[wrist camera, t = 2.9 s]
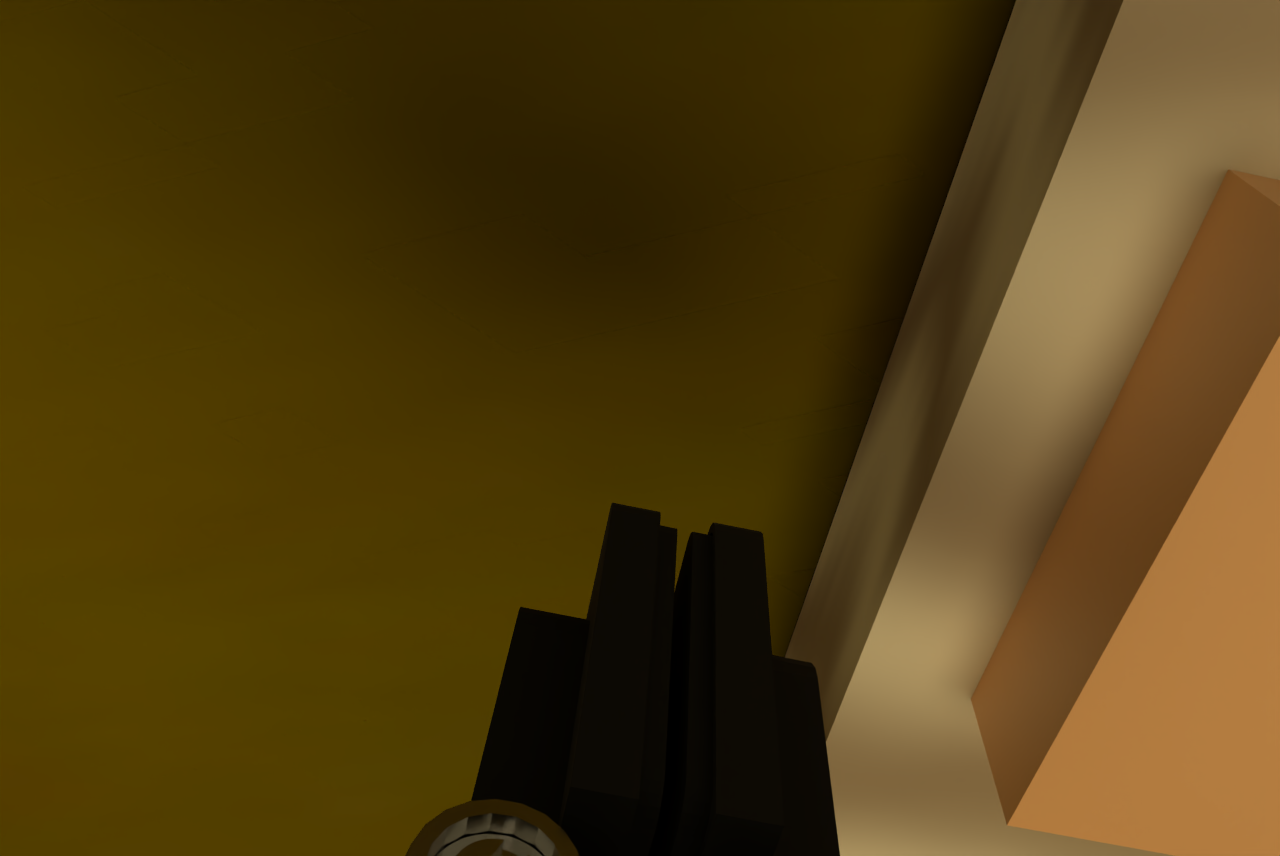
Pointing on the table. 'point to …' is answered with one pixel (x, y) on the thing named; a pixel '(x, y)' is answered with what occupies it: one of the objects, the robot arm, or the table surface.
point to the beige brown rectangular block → (1016, 387)
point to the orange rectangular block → (1163, 582)
